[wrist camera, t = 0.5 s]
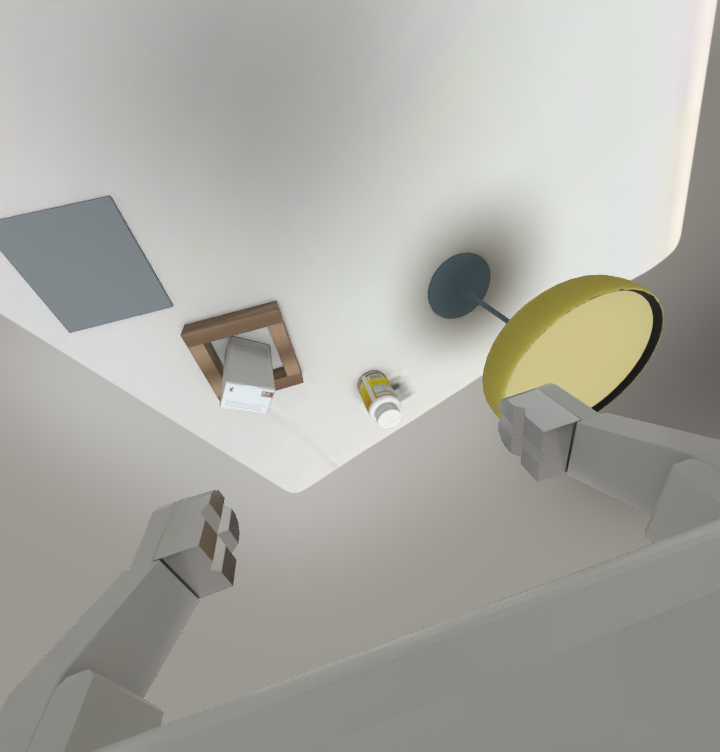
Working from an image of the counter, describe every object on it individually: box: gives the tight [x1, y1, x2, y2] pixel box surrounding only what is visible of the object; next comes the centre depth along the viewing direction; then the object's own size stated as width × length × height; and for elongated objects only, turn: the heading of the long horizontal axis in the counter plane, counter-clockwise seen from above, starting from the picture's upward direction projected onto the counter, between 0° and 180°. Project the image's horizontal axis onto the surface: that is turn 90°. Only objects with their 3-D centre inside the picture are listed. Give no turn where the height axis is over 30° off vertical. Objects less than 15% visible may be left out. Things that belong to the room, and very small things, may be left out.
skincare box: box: [220, 336, 275, 414], centre depth 44 cm, size 6×4×12 cm
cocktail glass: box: [428, 253, 664, 419], centre depth 42 cm, size 18×18×25 cm
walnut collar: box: [181, 301, 303, 401], centre depth 47 cm, size 13×13×3 cm
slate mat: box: [0, 196, 173, 333], centre depth 37 cm, size 13×13×1 cm
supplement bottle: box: [358, 371, 401, 428], centre depth 54 cm, size 6×6×10 cm
